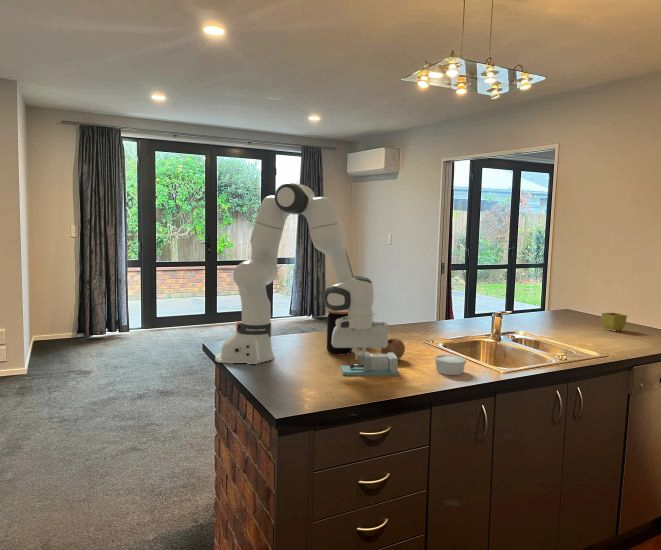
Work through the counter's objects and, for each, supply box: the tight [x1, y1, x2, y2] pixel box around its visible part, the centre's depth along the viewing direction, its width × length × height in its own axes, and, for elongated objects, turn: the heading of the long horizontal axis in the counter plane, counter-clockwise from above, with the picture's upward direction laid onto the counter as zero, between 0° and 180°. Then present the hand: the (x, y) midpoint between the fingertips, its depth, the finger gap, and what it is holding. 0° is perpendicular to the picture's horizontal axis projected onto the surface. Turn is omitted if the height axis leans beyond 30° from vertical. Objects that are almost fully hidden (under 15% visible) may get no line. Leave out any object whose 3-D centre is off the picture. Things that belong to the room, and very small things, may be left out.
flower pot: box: [600, 312, 628, 331], centre depth 261 cm, size 9×9×9 cm
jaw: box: [348, 351, 373, 371], centre depth 177 cm, size 8×8×5 cm
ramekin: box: [434, 354, 467, 376], centre depth 180 cm, size 11×11×5 cm
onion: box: [380, 337, 406, 360], centre depth 194 cm, size 10×9×10 cm
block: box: [370, 353, 389, 370], centre depth 177 cm, size 6×4×5 cm, turn 95°
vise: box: [340, 353, 400, 376], centre depth 177 cm, size 20×8×6 cm, turn 95°
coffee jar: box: [326, 308, 353, 355], centre depth 203 cm, size 11×11×18 cm
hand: (359, 359), depth 176 cm, fingers closed
